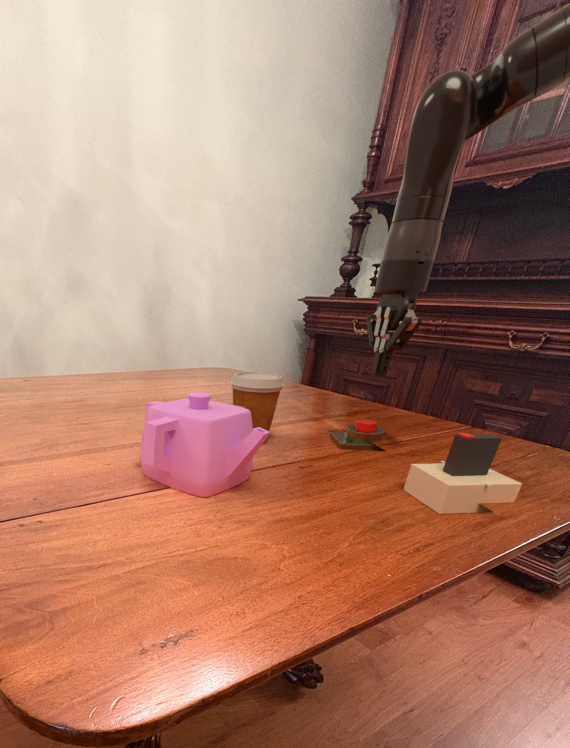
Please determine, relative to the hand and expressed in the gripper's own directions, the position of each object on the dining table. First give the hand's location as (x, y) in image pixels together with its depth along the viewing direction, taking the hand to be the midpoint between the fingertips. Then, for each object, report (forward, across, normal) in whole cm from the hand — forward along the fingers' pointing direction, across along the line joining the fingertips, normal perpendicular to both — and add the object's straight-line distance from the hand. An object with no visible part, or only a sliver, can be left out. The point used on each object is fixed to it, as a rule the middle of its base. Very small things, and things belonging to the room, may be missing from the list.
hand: (378, 375), depth 75 cm
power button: (+10, 0, 0) cm, 10 cm away
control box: (+13, +26, 0) cm, 29 cm away
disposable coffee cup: (+13, -3, -21) cm, 25 cm away
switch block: (+13, 0, 0) cm, 13 cm away
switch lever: (+9, +26, 0) cm, 27 cm away
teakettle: (+13, +15, -34) cm, 39 cm away
